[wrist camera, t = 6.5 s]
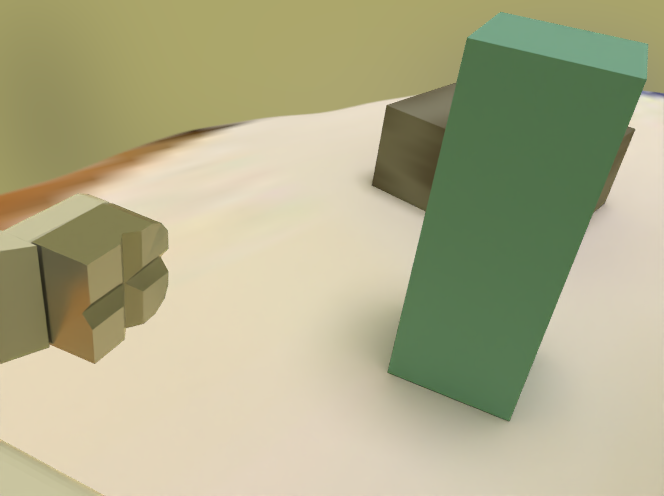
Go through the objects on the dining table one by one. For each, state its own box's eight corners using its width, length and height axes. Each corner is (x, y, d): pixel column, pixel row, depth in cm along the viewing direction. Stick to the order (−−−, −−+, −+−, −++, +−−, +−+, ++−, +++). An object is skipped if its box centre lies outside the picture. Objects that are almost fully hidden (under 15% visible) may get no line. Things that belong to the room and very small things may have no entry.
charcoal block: (603, 207, 38) (635, 129, 35) (532, 268, 31) (565, 177, 28) (459, 148, 43) (478, 75, 40) (371, 189, 36) (386, 105, 33)
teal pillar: (530, 346, 25) (648, 44, 19) (509, 421, 22) (646, 79, 15) (423, 307, 27) (500, 12, 20) (387, 372, 23) (467, 37, 17)
